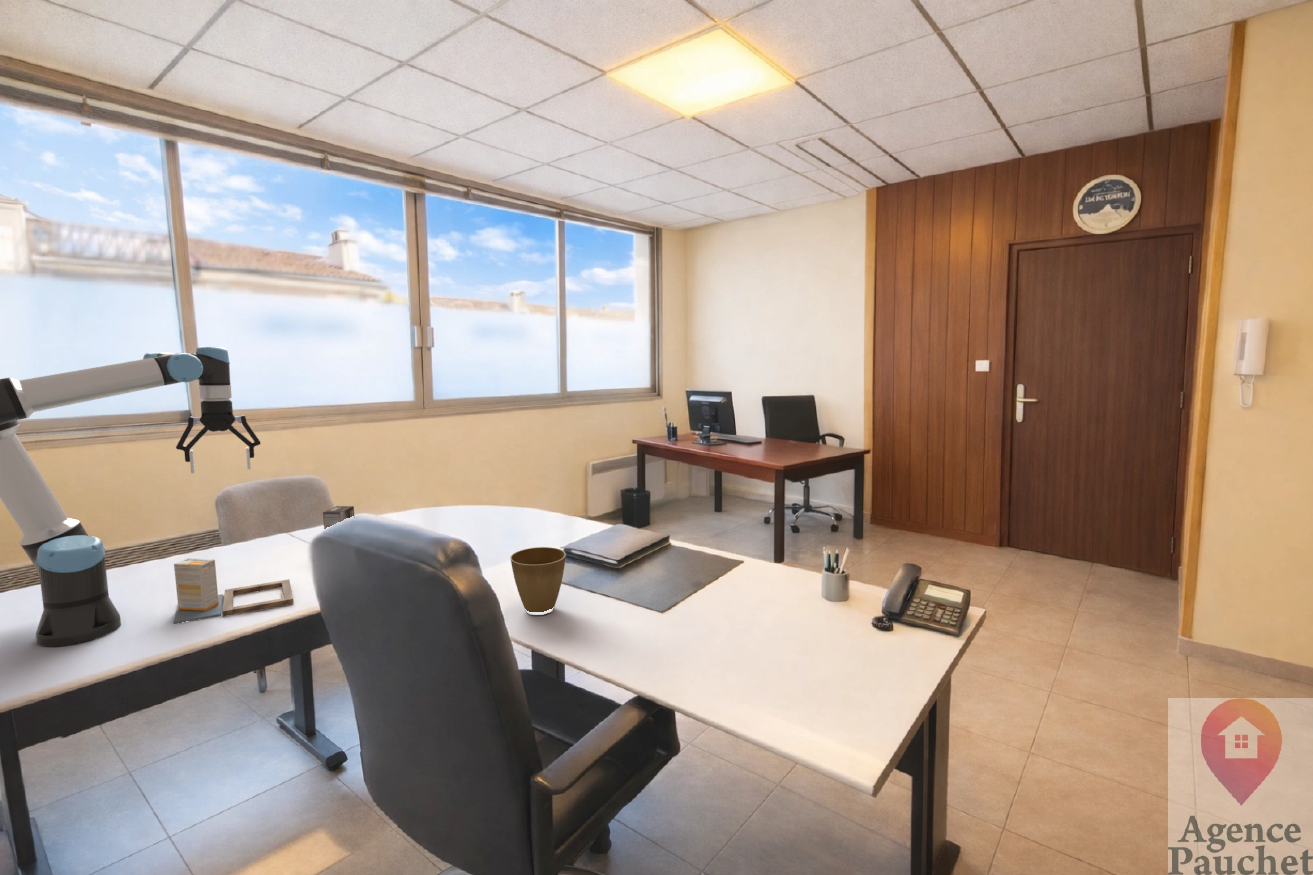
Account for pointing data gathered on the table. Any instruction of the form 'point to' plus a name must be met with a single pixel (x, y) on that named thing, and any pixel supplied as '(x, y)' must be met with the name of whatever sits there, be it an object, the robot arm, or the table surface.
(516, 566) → the plant pot
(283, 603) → the holder
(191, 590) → the supplement box
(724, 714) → the table surface
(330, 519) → the coffee box
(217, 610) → the mat
